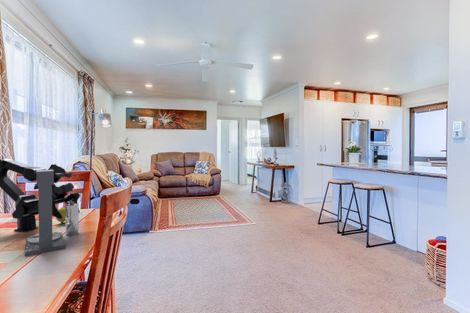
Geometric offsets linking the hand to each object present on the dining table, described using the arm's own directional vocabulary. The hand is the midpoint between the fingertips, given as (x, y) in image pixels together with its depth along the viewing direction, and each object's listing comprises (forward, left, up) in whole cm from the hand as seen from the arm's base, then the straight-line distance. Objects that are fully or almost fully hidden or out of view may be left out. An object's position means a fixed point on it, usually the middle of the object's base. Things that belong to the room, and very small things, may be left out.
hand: (70, 215), depth 114 cm
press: (+1, -13, -8) cm, 15 cm away
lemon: (-16, +14, -8) cm, 23 cm away
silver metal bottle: (+1, 0, -8) cm, 8 cm away
